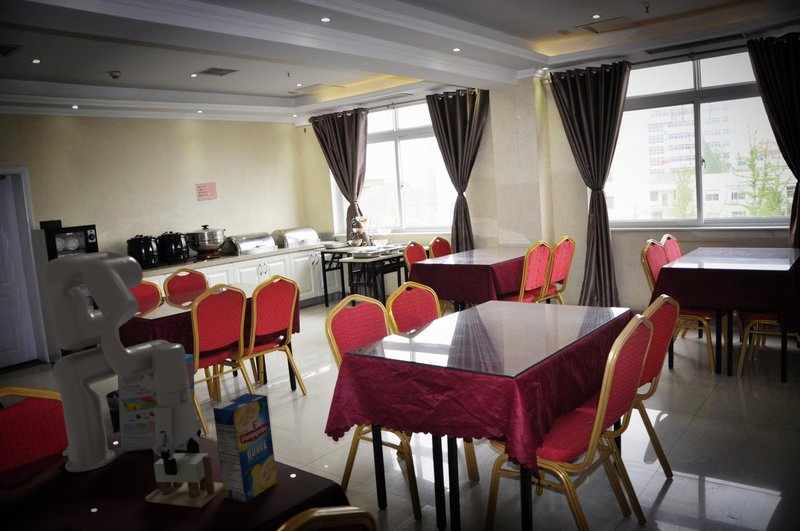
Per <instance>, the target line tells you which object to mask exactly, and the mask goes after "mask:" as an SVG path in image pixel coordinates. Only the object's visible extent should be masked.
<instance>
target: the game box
mask: <svg viewBox="0 0 800 531" xmlns="http://www.w3.org/2000/svg"><path fill="white" fill-rule="evenodd" d="M194 356H195V355H194V354H188V353H185V357H186V365H187V372H188V380H189V386H190V395H191V397H192V400H193V403H194V407H195V408H196V405H195V404H196V403H195V402H196V401H195V359H194V358H195V357H194ZM117 386H118V387H117V389H118V390H117V391H118V394H117V395H118V413H119V416H118V417H119V418H118V419H119V420H118V421H119V447H121V448H122V447H124V448H125V447H127V448H136V449H137V448H138V449H152V450H153V447H154V445H155V443H156V433H155V410H156V407H157V406H158V403H157V396H156V389H155V382H154V374H153V373H150V374H147V375H144V376H141V377H138V378H135V379H131V380H124V379H121V378H120V377H118V376H117ZM187 443H189V442H188V441H185V442H184V443H182V444H180V445H179V446H177V447H176V448H175V451H182V452H183V451H184V452H187ZM168 445H170V443H168ZM162 448H163V447H162ZM168 450H169V451H170V448H168V449H167V451H168Z"/></svg>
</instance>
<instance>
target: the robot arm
mask: <svg viewBox="0 0 800 531" xmlns="http://www.w3.org/2000/svg"><path fill="white" fill-rule="evenodd" d="M143 278H144V272H143V269H142V267H141V264H140V263H139V261H138V260H136V259H135V258H134V257H132V256H131V255H127V254H123V253H119V252H113V251H97V252H90V253H89V252H88V253H82V254H81V253H80V254H72V255H66V256H60V257H57V258H54V259H51V260H49V261H48V262H46V264H45V267H44V269H43V281H44V286H45V288H46V291H47V293H48V295H49V298H50V300H51V305H52V314H53V322H54V324H53V325H54V332H55V333H54V334H55V339H56V343H57V346H58V347H59V348H60V349H62V350H64V351H73V350H79V349H83V348H87V347H91V346H95V345H96V347H93V348H90V349H86V350H82V351H78V352H73V353H71V354H67V355H65V356H62V357H60V358H59V359H58V360H57V361H56V362H55V363H54V364H53V368H52V374H53V378H54V381H55V383H56V386H57V389H58V391H59V395H60V400H61V406H62V411H63V412H62V413H63V417H64V418H63V419H64V422H65V423H64V424H65V430H66V435H67V442H68V446H66V448H65V450H63V451H62V456H64V457H67V458H68V460H67V461H66V463H65V470H66V471H68V472H71V473H82V472H87V471H93V470H96V469H99V468H102V467H104V466H106V465H108V464H110V463H112V462H113V461H114V460H115V459H116V454H115V453H116V452H115V451H113V450H112V449H109V447H108V440H107V432H106V426H105V419H104V412H103V407H102V406H103V405H102V400H101V397H100V395H99V394H98V393H97V392H96V391H95V390H94V389H92V388H91V385H92V384H95V383H99V382H102V381H105V380H106V381H107V380H109V379H111V378H114V377H116V376H117V378H118V377H120V378H121V379H124V380H131V379H135V378H138V377H141V376H144V375H147V374H150V373H153V374H154V382H155V389H156V396H157V403H158V406H157V407H156V410H155V433H156V443H155V445H154V447H153V449H152V451H153V453H156V454H157V456H159V457H160V458H161V459H163V463H164V470H165V474H166V475H177V466H176V459H175V458H173V456H174V453H175V451H176V450H175V448H176V447H177V446H179V445H180V444H182V443H184V442H185V441H188V442H189V443H187V451H186V453H200V452H201V451H200V443H201V439H200V437H201V435H202V429H203V425H204V421H202V420H200V419H198V417H197V411H196V406H195V407H194V403H193V400H192V397H191V395H190V386H189V380H188V372H187V365H186V357H185V354H186V350H185V348H184V345H183V344H180V343H178V342H177V343H175V342H174V343H172V342H169V341H167V340H165V339H155V340H152V341H151V340H150V341H148V342H143V343H139V344H135V345H133V346H128V347H125V346H124V345H123V343H122V342H121V340H120V339H121V338H120V329H119V328H120V327H121V326H122V325H124V324H127V323H128V322H129V320H131V319H132V318H133V317H134V316H135V315H136V314H137V313H138V311H139V308H140V304H139V301H138V300H137V298H136V297H135V295H134V294H133V292H132V291H131V289H130V288H135V287H137V286H139V285H141V283H142V281H143ZM80 287H85V288H86V289H87V291H88V292H89V294H90V296H91V298H92V299H93V301H94V303H95V305H96V306H97V307H98V308H97V309H94V310H89V306H88V305H89V304H88V298H87V295H86V294H85V292H84V291H83V290H82V289H81V288H80ZM168 443H170V445H168ZM162 447H163V448H162ZM168 448H170V450H169V452H168V450H167V449H168Z"/></svg>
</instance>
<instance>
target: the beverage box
mask: <svg viewBox="0 0 800 531" xmlns="http://www.w3.org/2000/svg"><path fill="white" fill-rule="evenodd" d="M212 409H213V410H212V411H213V418H214V425H215V426H214V427H215V433H216V434H215V435H216V440H217V449H218V450H217V451H218V457H219V464H220V465H219V466H220V473H221V479H222V482H221V483H223V489H224V490H223V495H224V498H226V499H231V500H233V501H238V502H242V503H245V502H246V503H247V502H249V501H250V500H252V499H253V498H256V497H257V496H258V495H260V494H261V493H263V492H264V491H265V490H267V489H269V488H270V487H272V486H274V485H275V484H277V483H278V479H277V469H276V461H275V460H276V459H275V453H274V452H275V451H274V444H273V443H274V442H273V435H272V428H271V427H272V426H271V425H272V424H271V419H270V409H269V401H268V395H265V394H264V395H263V394H255V393H249V392H248V393H246V392H245V393H243V394H241V395H239V396H237V397H234V398H232V399H231V400H227V401H226V402H223V403H221V404H219V405H217V406H214V407H212ZM259 493H260V494H259Z"/></svg>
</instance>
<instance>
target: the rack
mask: <svg viewBox="0 0 800 531" xmlns="http://www.w3.org/2000/svg"><path fill="white" fill-rule="evenodd" d="M153 457H154V463H156V462H157V461H158V460H160V459H161V458H160V457H159V456H157V454H156V453H155V452H153ZM202 458H203V466H204V474H205V477H203V478H202V479H201V480H200V481H199V482H198V483H194V482H157V486H158V488H157V489H156V490H154V491H152V492H151V493H150V494H148V495H147V496H145V502H148V503H156V504H163V505H164V504H165V505H166V504H167V505H175V506H182V507H183V506H185V507H193V508H203V507H204V506H205V505H206V504H207V503H209V502H210V501H211V500H213V499H214V498H215V497H216V496H218V495H219V494H220V493H222V492H224V489H223V482H215V481H214V475H213V474H214V473H213V466H212V460H211V459H212V458H211V454H209V455H206V456H203V457H202Z"/></svg>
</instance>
